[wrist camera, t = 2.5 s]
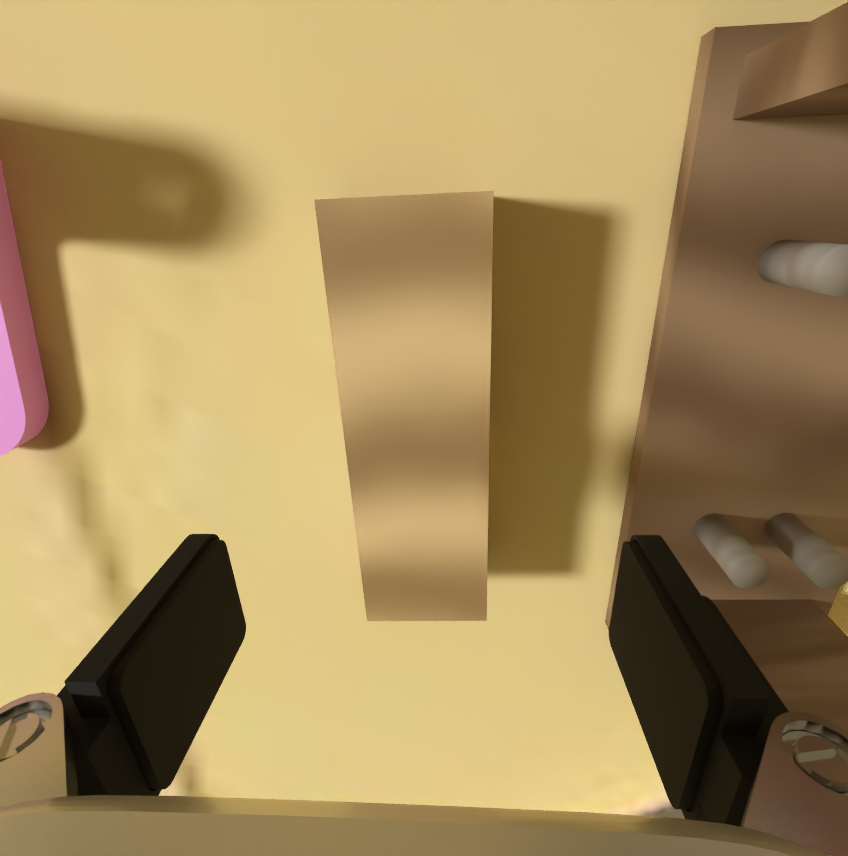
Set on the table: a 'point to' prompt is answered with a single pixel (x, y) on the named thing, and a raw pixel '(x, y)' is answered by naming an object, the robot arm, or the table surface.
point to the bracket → (17, 345)
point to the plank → (414, 393)
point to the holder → (758, 355)
